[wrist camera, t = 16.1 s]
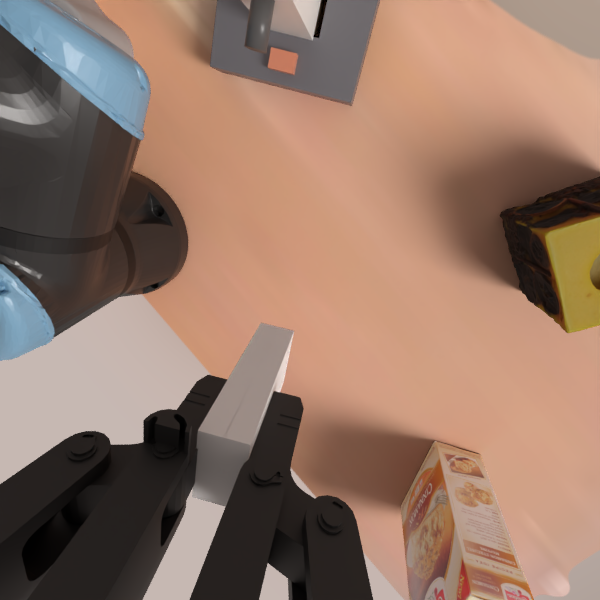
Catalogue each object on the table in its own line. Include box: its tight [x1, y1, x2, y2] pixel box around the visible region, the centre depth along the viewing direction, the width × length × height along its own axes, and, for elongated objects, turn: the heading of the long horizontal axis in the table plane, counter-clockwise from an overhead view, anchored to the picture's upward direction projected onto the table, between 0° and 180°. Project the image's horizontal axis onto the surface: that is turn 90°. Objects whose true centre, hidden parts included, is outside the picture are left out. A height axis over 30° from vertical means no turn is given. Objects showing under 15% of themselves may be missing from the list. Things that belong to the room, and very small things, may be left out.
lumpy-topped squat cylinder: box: [50, 0, 134, 59], centre depth 35 cm, size 10×13×9 cm
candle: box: [500, 177, 600, 333], centre depth 34 cm, size 10×10×10 cm
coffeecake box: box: [401, 441, 534, 600], centre depth 45 cm, size 15×7×20 cm, turn 167°
